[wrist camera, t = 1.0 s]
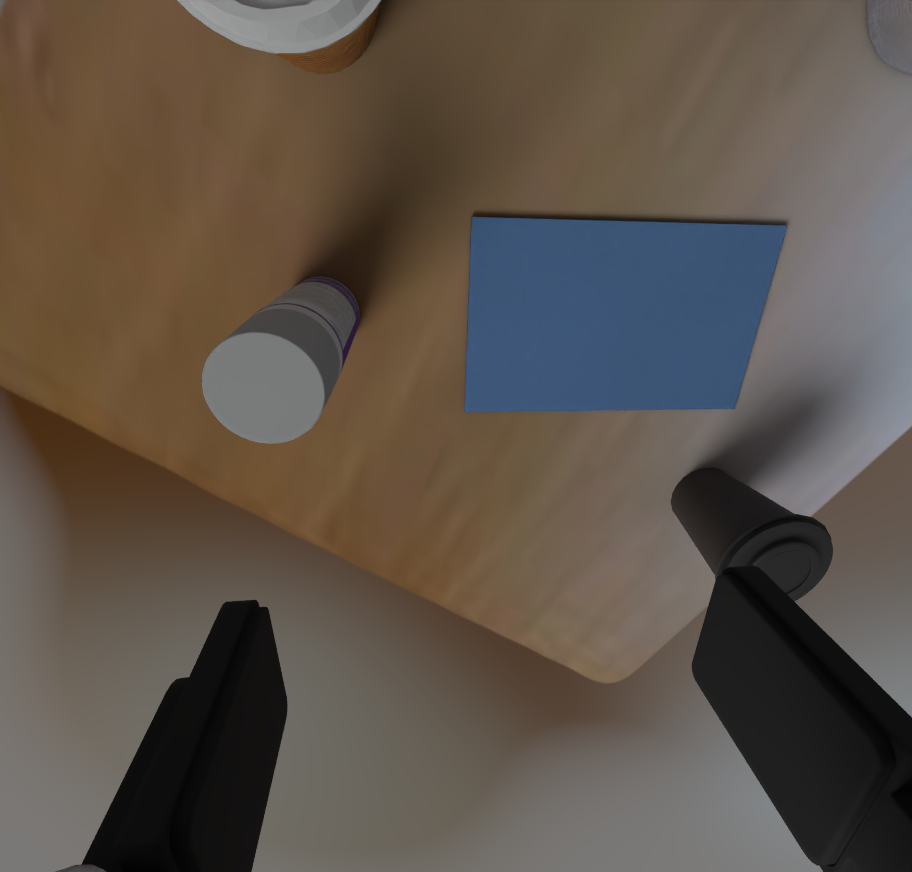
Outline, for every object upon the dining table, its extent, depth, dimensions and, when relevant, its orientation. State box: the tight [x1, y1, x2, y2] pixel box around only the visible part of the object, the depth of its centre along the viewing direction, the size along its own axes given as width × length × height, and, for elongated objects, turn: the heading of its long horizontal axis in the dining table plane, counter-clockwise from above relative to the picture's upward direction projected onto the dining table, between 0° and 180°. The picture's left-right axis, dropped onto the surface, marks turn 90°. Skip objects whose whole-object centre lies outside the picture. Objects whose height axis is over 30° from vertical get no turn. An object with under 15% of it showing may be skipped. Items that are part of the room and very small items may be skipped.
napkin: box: [464, 217, 787, 412], centre depth 34 cm, size 13×21×1 cm, turn 89°
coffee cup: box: [671, 468, 833, 601], centre depth 37 cm, size 8×8×10 cm
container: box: [202, 276, 360, 443], centre depth 25 cm, size 5×5×15 cm
